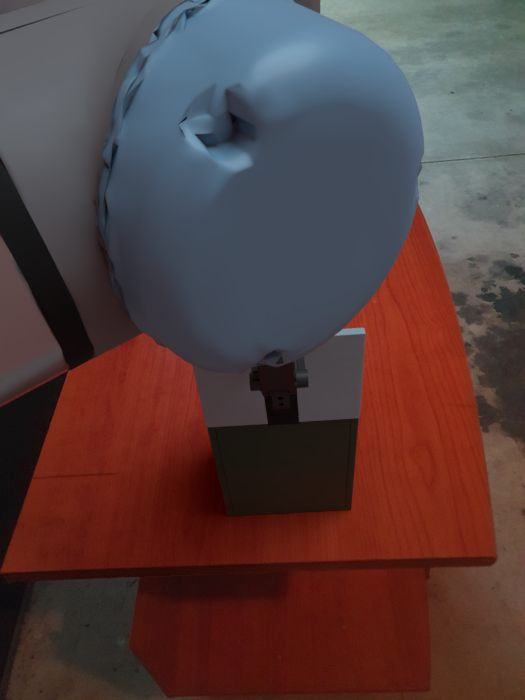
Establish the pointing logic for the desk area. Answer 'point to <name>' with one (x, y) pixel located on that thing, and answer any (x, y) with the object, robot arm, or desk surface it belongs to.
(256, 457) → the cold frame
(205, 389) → the pale blue flat panel
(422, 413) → the desk surface
